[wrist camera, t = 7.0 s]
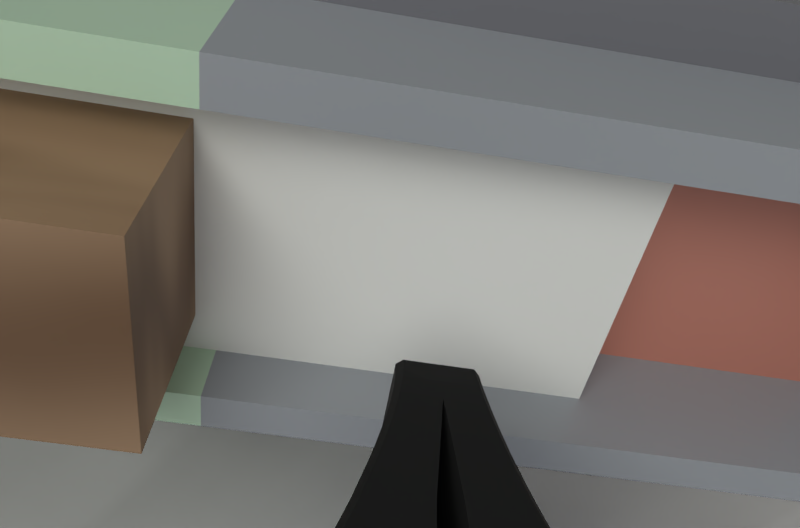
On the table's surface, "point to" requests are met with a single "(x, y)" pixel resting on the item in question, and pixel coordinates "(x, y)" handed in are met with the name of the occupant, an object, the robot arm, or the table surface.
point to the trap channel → (477, 214)
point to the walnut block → (92, 267)
